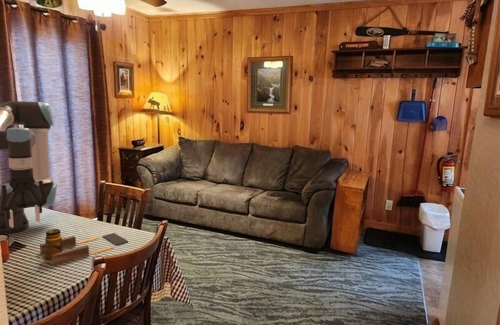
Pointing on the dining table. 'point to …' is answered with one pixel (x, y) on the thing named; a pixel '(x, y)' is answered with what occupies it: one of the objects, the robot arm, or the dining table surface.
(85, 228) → the dining table surface
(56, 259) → the parallel wooden rails
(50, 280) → the dining table surface
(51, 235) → the condiment
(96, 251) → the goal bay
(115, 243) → the mat
